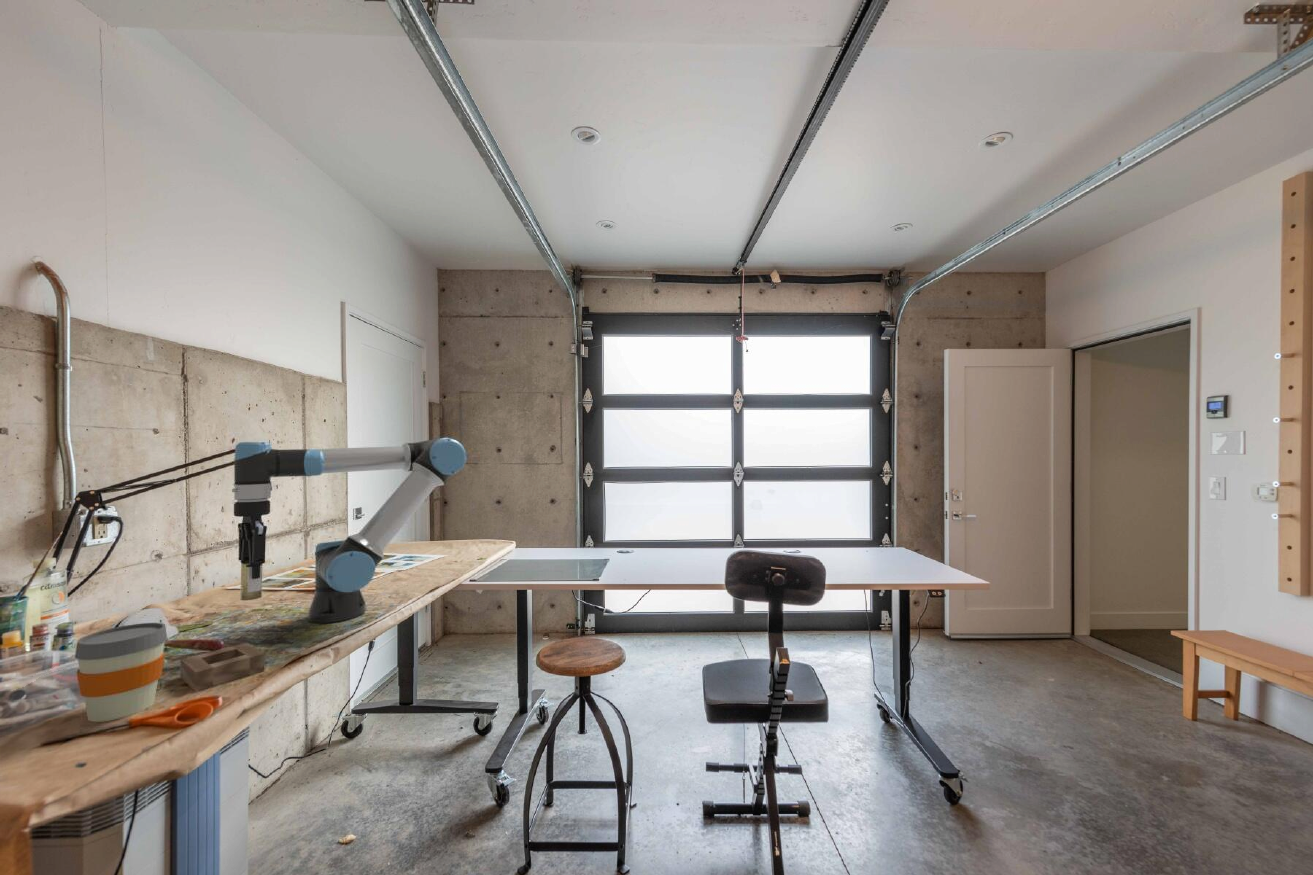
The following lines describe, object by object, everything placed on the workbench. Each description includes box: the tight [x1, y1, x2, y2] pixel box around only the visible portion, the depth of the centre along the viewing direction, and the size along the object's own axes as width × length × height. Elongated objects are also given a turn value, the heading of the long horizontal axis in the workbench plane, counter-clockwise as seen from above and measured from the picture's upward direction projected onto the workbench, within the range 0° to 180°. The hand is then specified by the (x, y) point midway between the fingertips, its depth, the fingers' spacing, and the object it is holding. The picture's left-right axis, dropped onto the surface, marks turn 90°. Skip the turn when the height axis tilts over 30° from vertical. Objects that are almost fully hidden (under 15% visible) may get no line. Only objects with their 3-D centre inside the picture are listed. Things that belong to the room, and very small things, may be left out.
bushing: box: [240, 563, 264, 601], centre depth 133 cm, size 4×4×9 cm
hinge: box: [108, 607, 179, 639], centre depth 135 cm, size 17×5×10 cm, turn 17°
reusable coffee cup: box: [74, 623, 168, 723], centre depth 100 cm, size 13×12×15 cm
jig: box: [179, 642, 266, 692], centre depth 115 cm, size 12×12×4 cm
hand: (251, 589), depth 133 cm, fingers closed on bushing, 4 cm apart
